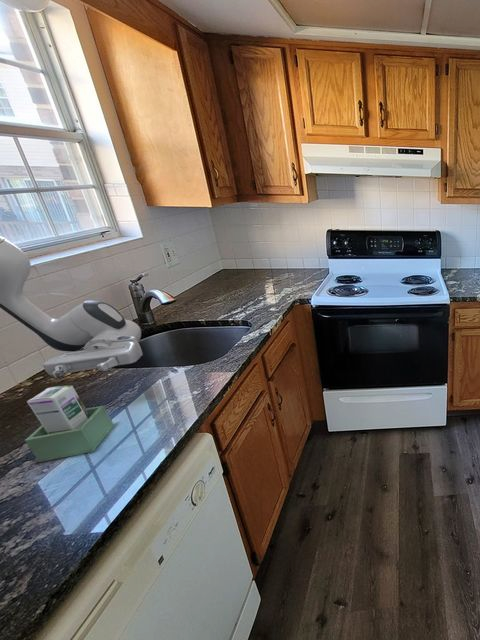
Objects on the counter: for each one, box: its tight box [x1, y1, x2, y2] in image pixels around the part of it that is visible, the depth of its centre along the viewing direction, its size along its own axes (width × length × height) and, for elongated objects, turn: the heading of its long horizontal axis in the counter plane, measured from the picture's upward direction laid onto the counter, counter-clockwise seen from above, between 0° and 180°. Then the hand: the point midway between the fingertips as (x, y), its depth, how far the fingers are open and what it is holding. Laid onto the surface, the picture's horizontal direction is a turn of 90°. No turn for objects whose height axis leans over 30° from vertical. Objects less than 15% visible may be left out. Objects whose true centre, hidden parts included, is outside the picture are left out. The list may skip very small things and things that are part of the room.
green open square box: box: [24, 405, 115, 463], centre depth 91 cm, size 11×11×7 cm
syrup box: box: [26, 385, 90, 434], centre depth 89 cm, size 6×6×14 cm
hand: (79, 372), depth 96 cm, fingers open, 8 cm apart
